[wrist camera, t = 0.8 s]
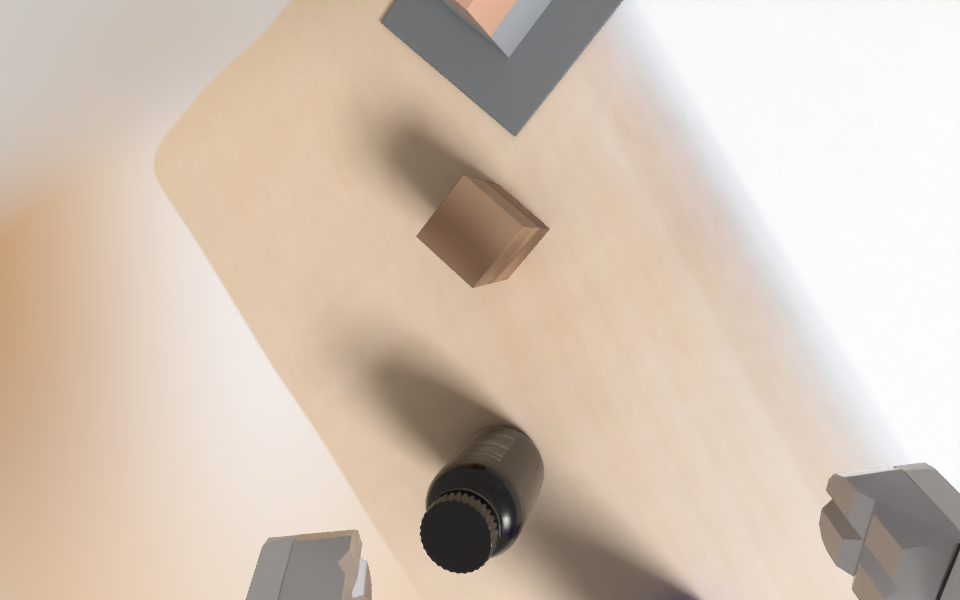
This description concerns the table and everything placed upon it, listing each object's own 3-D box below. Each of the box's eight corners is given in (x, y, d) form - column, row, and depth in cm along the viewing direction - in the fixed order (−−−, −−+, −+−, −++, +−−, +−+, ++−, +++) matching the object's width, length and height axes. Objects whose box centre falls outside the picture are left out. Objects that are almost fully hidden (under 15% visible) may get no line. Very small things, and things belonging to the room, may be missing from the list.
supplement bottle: (447, 471, 50) (383, 539, 39) (491, 406, 49) (438, 458, 37) (515, 524, 49) (470, 612, 38) (563, 460, 47) (531, 531, 36)
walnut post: (500, 186, 47) (463, 174, 38) (549, 229, 46) (523, 227, 37) (460, 236, 48) (416, 236, 40) (507, 278, 47) (472, 287, 39)
